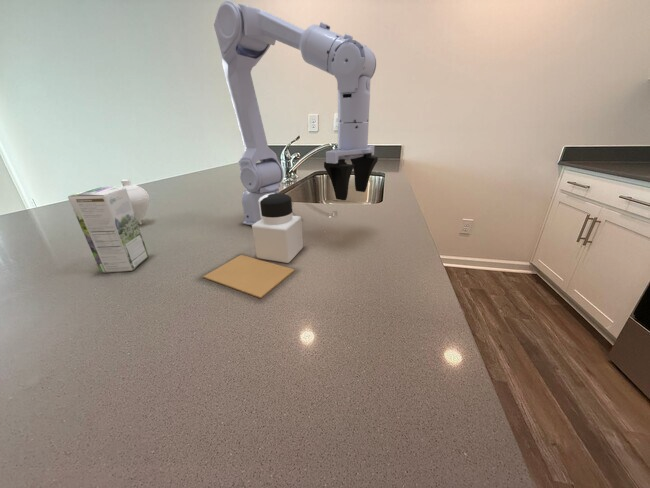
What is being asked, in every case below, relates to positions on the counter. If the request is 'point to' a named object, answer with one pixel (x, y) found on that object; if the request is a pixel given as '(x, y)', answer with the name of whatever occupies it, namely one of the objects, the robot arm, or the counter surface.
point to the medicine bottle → (277, 229)
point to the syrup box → (110, 228)
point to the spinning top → (137, 199)
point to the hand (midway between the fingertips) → (351, 195)
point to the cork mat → (250, 275)
